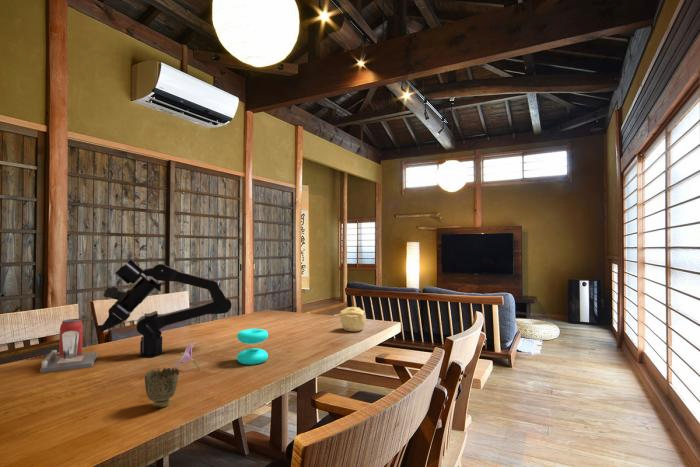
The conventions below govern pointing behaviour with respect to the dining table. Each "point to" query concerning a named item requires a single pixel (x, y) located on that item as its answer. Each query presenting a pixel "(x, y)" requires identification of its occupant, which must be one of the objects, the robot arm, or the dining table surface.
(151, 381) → the cup
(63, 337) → the milkshake
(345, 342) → the dining table surface
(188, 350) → the lily
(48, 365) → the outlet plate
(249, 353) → the donuts
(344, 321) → the pale yellow rounded lump
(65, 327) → the beer can
